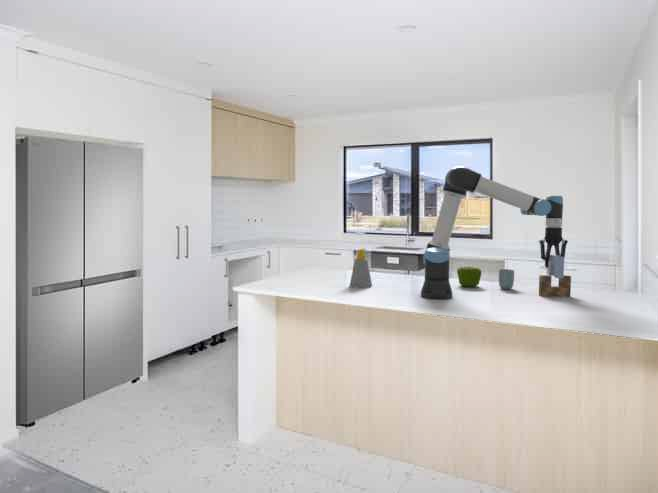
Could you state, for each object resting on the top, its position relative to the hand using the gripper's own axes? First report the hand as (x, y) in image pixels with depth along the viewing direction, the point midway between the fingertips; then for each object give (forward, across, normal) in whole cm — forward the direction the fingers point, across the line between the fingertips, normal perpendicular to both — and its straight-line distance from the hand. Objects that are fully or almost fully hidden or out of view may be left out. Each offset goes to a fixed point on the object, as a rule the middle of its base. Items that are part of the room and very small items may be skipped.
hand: (552, 273), depth 249 cm
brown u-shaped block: (+10, 0, -4) cm, 11 cm away
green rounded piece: (+10, -36, +22) cm, 43 cm away
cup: (+10, -18, +15) cm, 26 cm away
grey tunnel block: (+1, 0, -4) cm, 4 cm away
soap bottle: (+10, -95, +19) cm, 97 cm away
